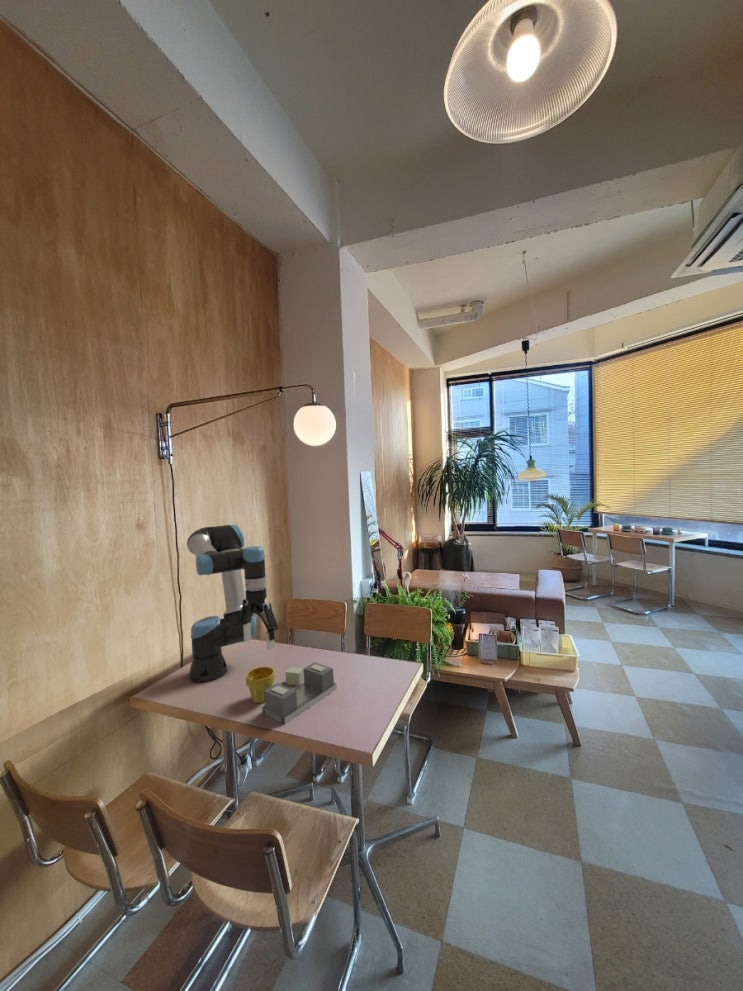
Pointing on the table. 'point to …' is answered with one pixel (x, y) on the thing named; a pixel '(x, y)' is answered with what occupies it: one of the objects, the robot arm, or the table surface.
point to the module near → (280, 699)
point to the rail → (301, 701)
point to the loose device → (294, 676)
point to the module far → (318, 676)
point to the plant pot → (259, 682)
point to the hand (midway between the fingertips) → (258, 644)
